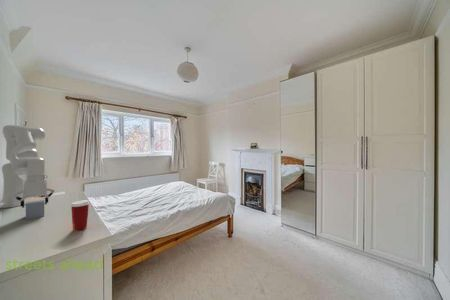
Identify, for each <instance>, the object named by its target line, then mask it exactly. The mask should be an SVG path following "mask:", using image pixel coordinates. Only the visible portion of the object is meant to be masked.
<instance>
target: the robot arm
mask: <svg viewBox="0 0 450 300" xmlns="http://www.w3.org/2000/svg"><path fill="white" fill-rule="evenodd" d="M2 134H3V135H2V136H3V137H4V139H5V141H6V143H5V144H6V146H5V158H6V160H8V161H9V162H8V163H5V164H3V165H2V166H1V172H2V179H3V202H2V204H1V205H0V208H1V209H8V208H9V209H10V208H15V207H21V208H25V205H26V202H27V201H25V200H26V198H36V197H41V196H42V197H43V196H44V205H48V203H49V198H50V197H51V196H52V195H53V194H54V193H55V189H53V188H48V184H47V179H46V178H48V175H46V174H45V164H46V163H45V159H44V158H42V157H39V152H38V151H37V149H35V148H36V147H37V142H36V140H39V141H40V140H41V141H42V140H44V139H45V137H46V132H45V130H44V129H43V128H41V127H37V126H27V125H26V126H25V125H15V124H7V125H4V126H3V127H2ZM20 176H26V180H23V178H21V177H20ZM48 192H49V193H48Z"/></svg>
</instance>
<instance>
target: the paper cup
mask: <svg viewBox="0 0 450 300" xmlns="http://www.w3.org/2000/svg"><path fill="white" fill-rule="evenodd" d="M89 205H90V201H89V200H87V199H83V200H77V201H73V202H71V204H70V207H71V220H72V221H71V222H72V223H71V224H72V231H73V232H81V231H83V230H86V229H87V228H88V217H89V207H90V206H89Z"/></svg>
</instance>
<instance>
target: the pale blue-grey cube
mask: <svg viewBox="0 0 450 300" xmlns="http://www.w3.org/2000/svg"><path fill="white" fill-rule="evenodd" d="M25 202H26V204H25V221H26V220H32V219H36V218H42V217H45V199H39V200H31V201H25Z"/></svg>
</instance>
